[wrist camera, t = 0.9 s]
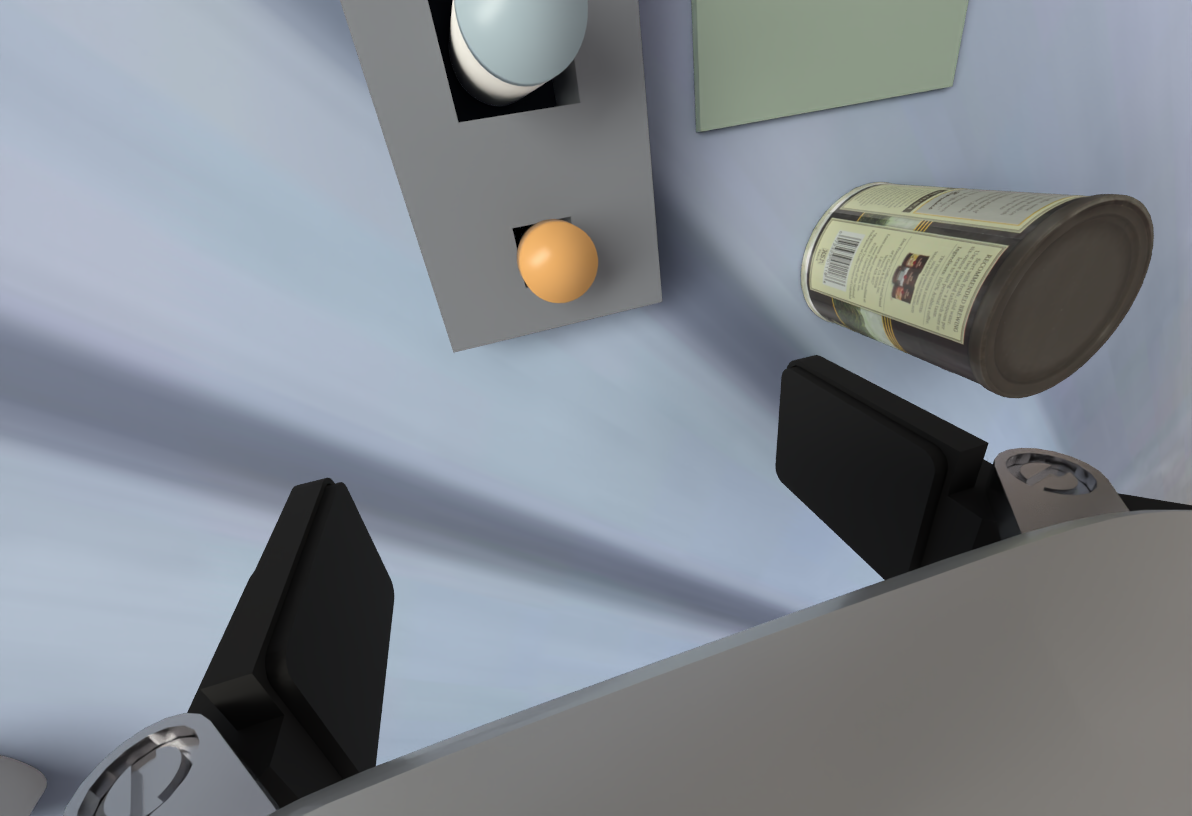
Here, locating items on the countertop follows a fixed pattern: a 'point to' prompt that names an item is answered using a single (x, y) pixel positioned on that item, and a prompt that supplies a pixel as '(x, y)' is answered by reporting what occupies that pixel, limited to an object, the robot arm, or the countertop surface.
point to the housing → (517, 170)
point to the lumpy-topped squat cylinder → (19, 787)
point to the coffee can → (980, 277)
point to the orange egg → (557, 260)
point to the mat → (817, 54)
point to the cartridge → (513, 45)
